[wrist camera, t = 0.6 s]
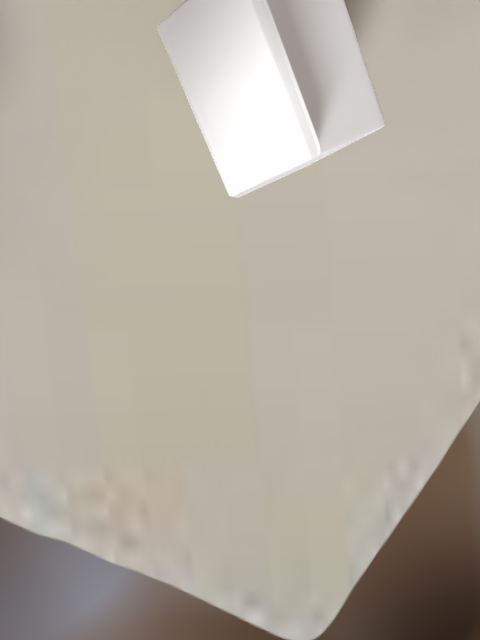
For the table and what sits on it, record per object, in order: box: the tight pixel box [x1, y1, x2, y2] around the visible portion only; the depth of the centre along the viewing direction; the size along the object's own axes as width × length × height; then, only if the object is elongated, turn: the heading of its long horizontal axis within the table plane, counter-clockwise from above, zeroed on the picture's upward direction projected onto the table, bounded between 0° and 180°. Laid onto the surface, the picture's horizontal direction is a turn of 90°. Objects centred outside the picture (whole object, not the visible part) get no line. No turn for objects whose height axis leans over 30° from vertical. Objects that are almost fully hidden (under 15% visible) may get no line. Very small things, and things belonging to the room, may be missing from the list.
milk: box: [158, 0, 385, 197], centre depth 23 cm, size 6×6×22 cm
